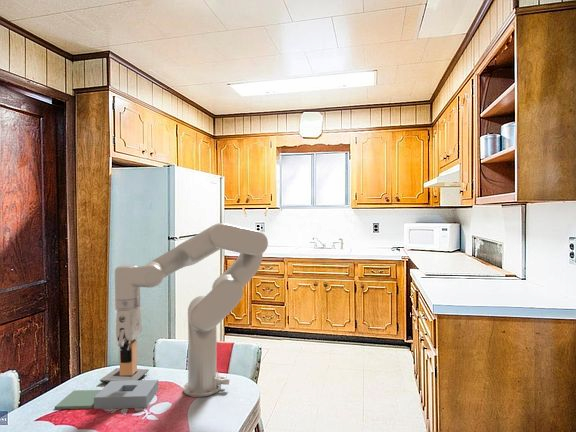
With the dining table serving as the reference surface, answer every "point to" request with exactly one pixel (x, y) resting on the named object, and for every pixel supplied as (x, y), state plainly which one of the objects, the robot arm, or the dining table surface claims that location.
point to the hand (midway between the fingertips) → (128, 359)
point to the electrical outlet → (117, 377)
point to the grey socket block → (126, 394)
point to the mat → (78, 400)
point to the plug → (132, 366)
